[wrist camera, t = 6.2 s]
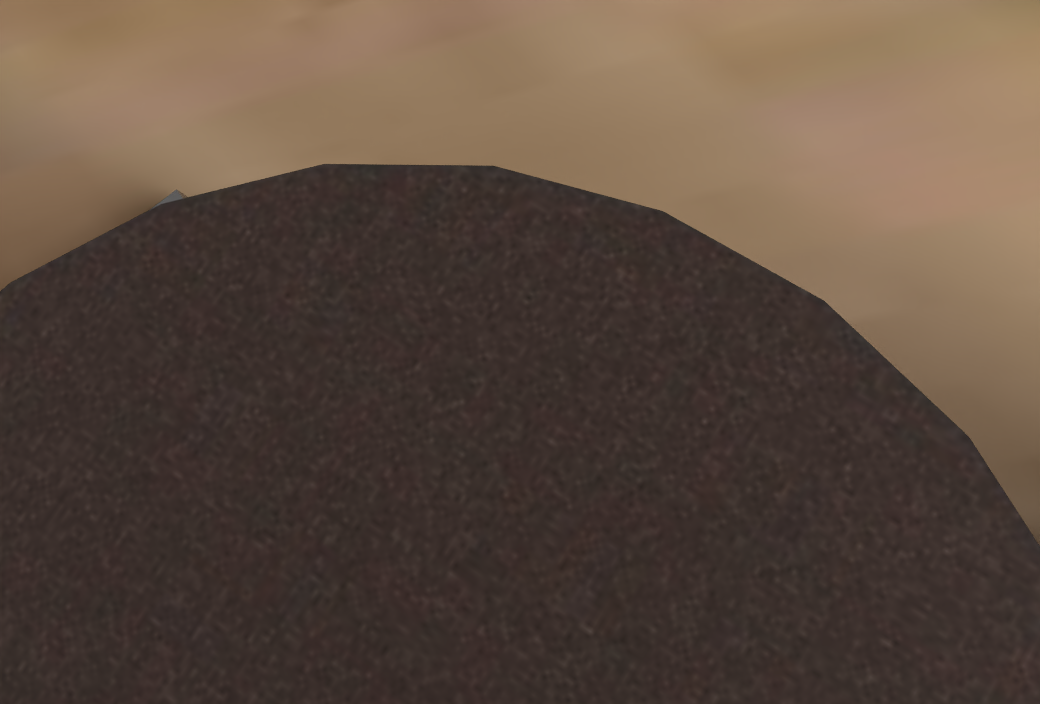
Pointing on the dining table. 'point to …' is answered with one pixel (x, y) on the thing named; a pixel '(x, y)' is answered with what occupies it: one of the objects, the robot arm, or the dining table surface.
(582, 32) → the dining table surface
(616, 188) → the dining table surface
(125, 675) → the deodorant
